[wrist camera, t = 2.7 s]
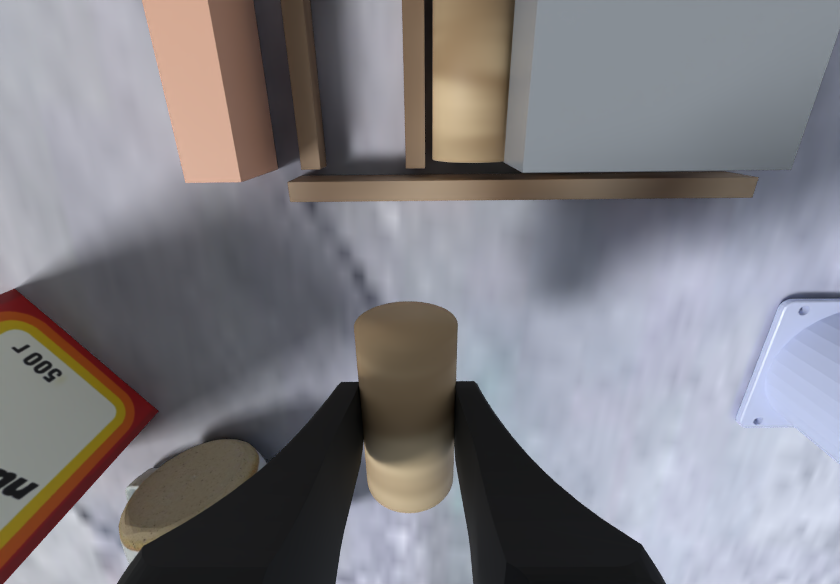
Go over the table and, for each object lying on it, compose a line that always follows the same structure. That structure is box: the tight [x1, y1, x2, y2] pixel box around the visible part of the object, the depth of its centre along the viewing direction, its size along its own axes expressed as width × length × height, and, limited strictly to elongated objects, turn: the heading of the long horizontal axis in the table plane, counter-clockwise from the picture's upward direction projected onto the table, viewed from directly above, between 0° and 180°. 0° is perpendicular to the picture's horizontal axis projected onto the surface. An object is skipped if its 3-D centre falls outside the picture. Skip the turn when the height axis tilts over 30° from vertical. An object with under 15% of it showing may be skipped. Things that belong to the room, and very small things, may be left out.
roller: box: [354, 302, 458, 513], centre depth 13 cm, size 6×3×3 cm, turn 1°
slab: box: [504, 0, 840, 173], centre depth 12 cm, size 8×6×3 cm
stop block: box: [142, 0, 278, 183], centre depth 15 cm, size 2×7×4 cm, turn 0°
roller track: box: [280, 0, 759, 202], centre depth 15 cm, size 19×9×3 cm, turn 91°
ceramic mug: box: [119, 439, 267, 564], centre depth 22 cm, size 11×8×8 cm
